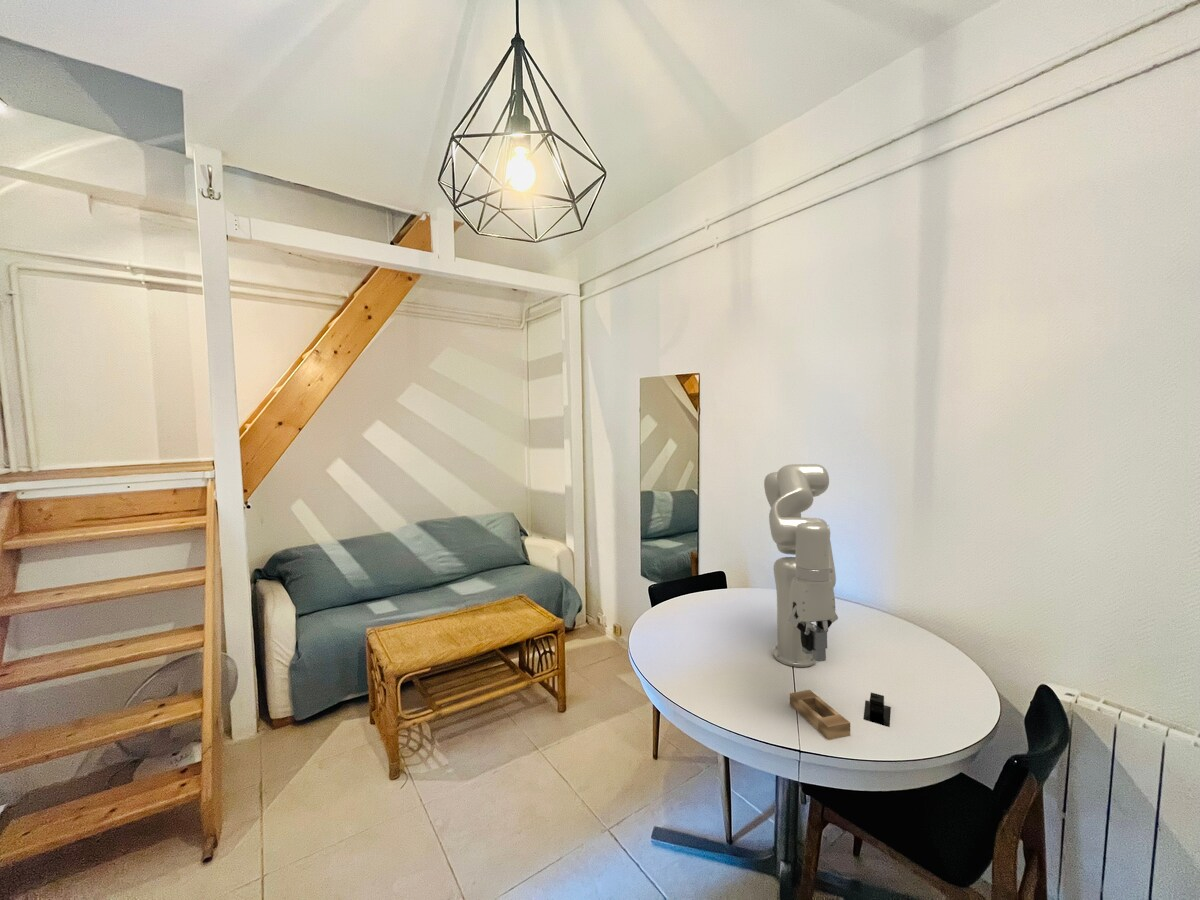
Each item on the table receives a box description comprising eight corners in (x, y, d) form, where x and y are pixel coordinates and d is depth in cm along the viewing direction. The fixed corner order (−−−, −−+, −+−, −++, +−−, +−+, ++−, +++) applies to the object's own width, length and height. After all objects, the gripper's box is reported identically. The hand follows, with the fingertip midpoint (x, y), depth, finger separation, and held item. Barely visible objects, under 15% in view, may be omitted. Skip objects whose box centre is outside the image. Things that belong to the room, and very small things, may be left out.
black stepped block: (862, 698, 120) (862, 681, 119) (895, 707, 116) (895, 689, 115) (858, 724, 109) (858, 705, 109) (894, 734, 105) (894, 715, 105)
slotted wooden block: (789, 704, 117) (789, 693, 117) (809, 700, 118) (809, 689, 118) (828, 739, 103) (828, 727, 103) (850, 735, 105) (850, 722, 104)
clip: (800, 651, 113) (800, 623, 113) (811, 649, 114) (810, 622, 114) (816, 662, 107) (815, 633, 107) (827, 660, 108) (827, 631, 108)
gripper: (830, 567, 116) (831, 638, 116) (773, 571, 113) (774, 644, 113) (852, 575, 108) (853, 651, 109) (792, 580, 105) (793, 658, 105)
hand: (813, 647), depth 111 cm, fingers closed on clip, 3 cm apart
